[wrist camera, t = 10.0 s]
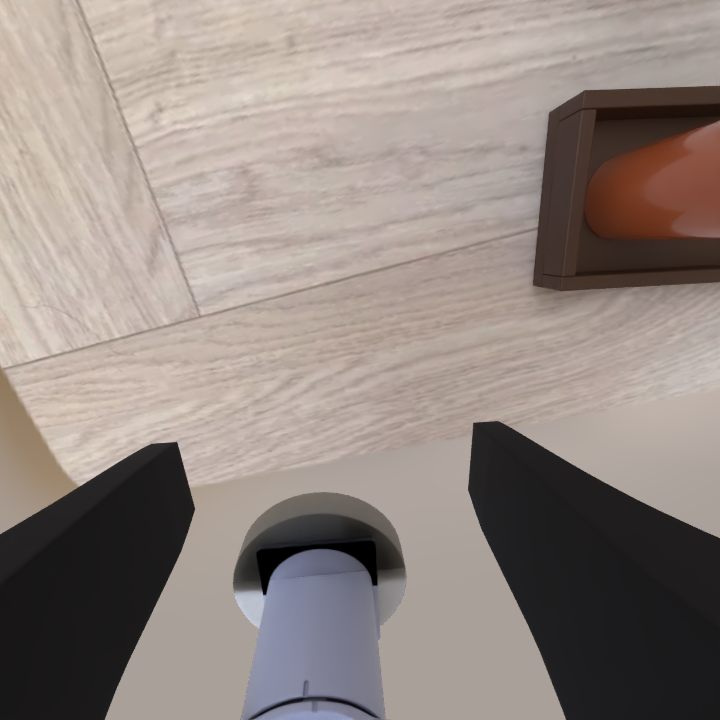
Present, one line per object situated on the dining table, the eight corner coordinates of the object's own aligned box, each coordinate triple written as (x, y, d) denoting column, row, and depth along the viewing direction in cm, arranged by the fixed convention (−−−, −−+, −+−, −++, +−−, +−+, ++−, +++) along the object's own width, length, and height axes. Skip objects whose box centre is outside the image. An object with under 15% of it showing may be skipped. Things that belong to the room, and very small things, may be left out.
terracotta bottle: (655, 239, 16) (933, 233, 9) (577, 243, 16) (790, 240, 9) (672, 148, 15) (1007, 51, 8) (589, 152, 15) (845, 56, 7)
